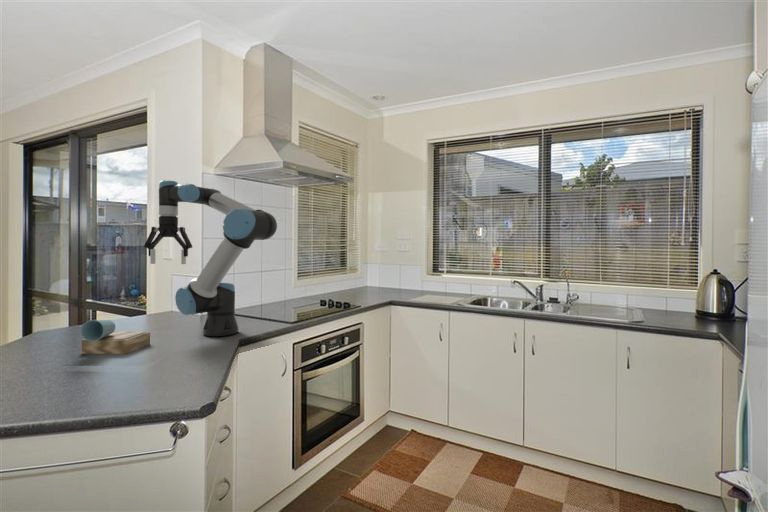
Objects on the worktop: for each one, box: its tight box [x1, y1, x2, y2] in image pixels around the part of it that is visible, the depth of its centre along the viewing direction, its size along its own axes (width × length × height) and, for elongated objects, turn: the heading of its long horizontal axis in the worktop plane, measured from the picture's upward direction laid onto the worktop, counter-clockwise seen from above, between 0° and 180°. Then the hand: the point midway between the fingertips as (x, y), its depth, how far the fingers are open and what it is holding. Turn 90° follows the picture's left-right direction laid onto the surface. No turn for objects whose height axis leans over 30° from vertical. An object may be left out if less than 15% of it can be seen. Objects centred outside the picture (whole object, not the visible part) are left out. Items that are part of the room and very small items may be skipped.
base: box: [81, 330, 151, 355], centre depth 161 cm, size 16×16×5 cm
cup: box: [80, 319, 116, 341], centre depth 156 cm, size 8×8×10 cm
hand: (168, 264), depth 187 cm, fingers open, 13 cm apart
